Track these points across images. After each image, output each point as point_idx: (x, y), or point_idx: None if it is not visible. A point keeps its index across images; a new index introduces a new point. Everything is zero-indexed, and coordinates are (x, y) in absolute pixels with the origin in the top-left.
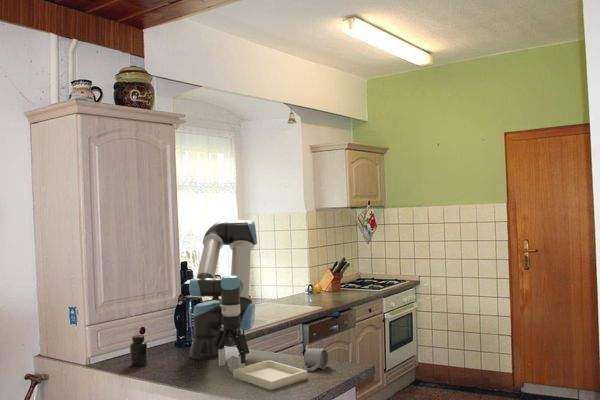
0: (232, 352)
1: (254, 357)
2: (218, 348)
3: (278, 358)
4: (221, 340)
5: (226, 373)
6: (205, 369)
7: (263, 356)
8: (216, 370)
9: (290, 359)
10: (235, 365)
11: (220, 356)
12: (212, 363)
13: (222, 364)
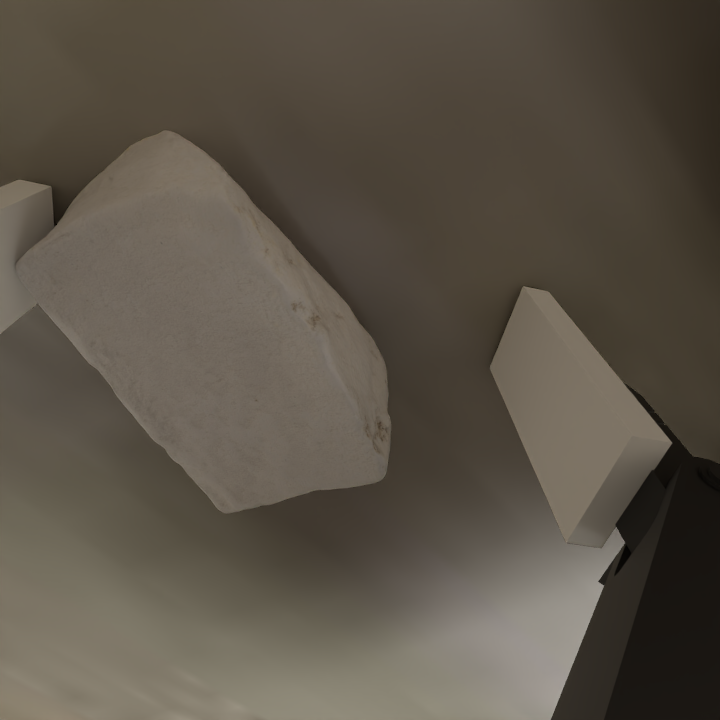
0: None
1: (370, 654)
2: (692, 467)
3: (163, 702)
4: (701, 677)
5: (165, 23)
6: (664, 22)
7: (318, 693)
8: (442, 81)
9: (59, 716)
10: (81, 216)
11: (565, 369)
12: (699, 339)
13: (508, 332)
